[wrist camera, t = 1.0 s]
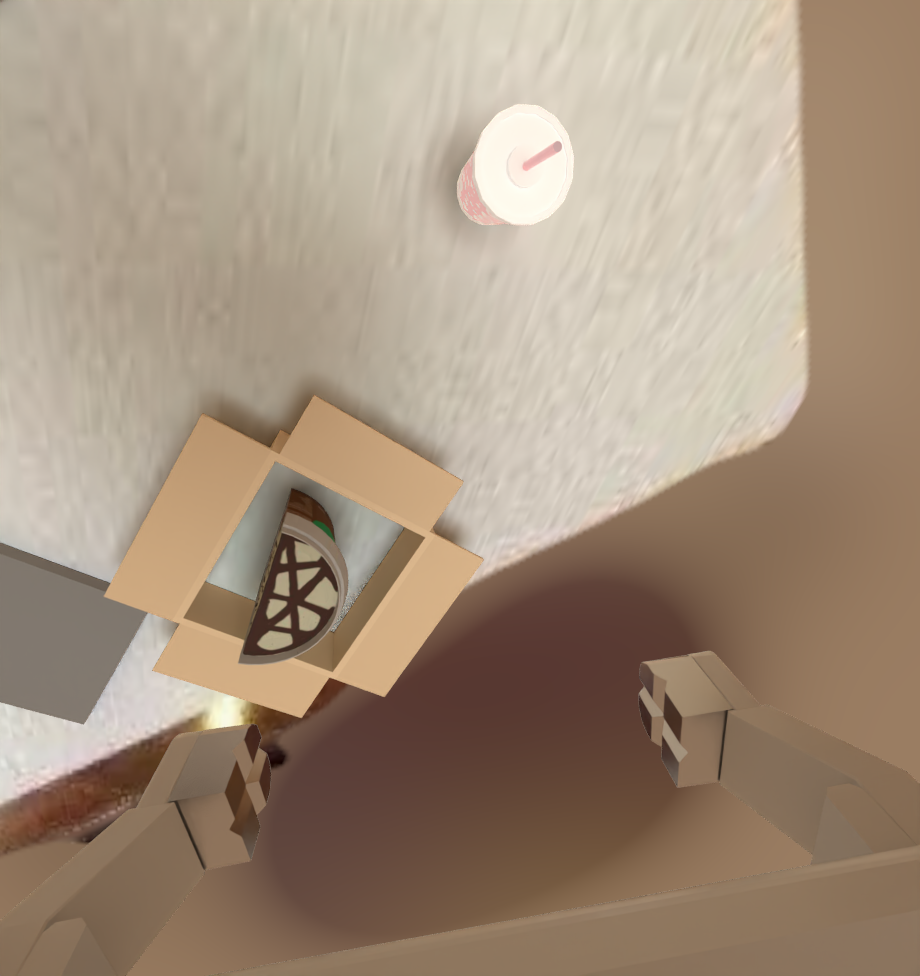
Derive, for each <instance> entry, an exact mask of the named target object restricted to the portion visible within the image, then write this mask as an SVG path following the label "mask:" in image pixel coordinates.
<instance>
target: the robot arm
mask: <svg viewBox="0 0 920 976" xmlns="http://www.w3.org/2000/svg"><path fill="white" fill-rule="evenodd" d="M639 678H640V680H641V681H642V683H643V684H644V688H643V689H642V690H641V692H640V693H639V710H640V714H641V719H642V722H643V725H644V727H645V730H646V732H647V734H648V735H649V737H650V739H651V741H653V742H655V743H656V744H658V745H659V746H661V747H662V754H661V759H662V761H663V763H664V765H665V766H666V768H667V770H668V771H669V773H670V775H671V777H672V779H673V781H674V782H675V784H676V786H677V787H678V788H679V787H685V786H692V785H700V784H707V783H714V782H720V785H722V786H723V787H724V788H726V789H727V790H728V791H729V792H731V793H732V794H734V795H735V796H736V797H737V798H738V799H740V800H741V801H743V802H744V803H745V804H746V805H748V806H749V807H751V808H752V809H753V810H754V811H756V812H757V813H758V814H759V815H761V816H762V817H763V818H765V819H766V820H767V821H769V822H770V823H771V824H773V825H774V826H775V827H776V828H778V829H779V830H781V831H782V832H783V833H784V834H786V835H787V836H788V837H790V838H791V839H792V840H794V841H795V842H796V843H798V844H799V845H800V846H801V847H803V848H804V849H805V850H807V851H808V852H809V853H811V854H812V860H811V864H810V865H808V866H802V867H797V868H792V869H787V870H781V871H776V872H770V873H764V874H759V875H753V876H748V877H742V878H737V879H732V880H726V881H721V882H715V883H710V884H705V885H699V886H693V887H688V888H683V889H678V890H672V891H667V892H661V893H656V894H651V895H645V896H639V897H634V898H629V899H624V900H618V901H612V902H607V903H602V904H597V905H591V906H585V907H580V908H575V909H570V910H564V911H559V912H553V913H548V914H542V915H538V916H532V917H526V918H521V919H515V920H510V921H505V922H499V923H493V924H488V925H482V926H477V927H471V928H466V929H461V930H455V931H449V932H444V933H438V934H433V935H427V936H422V937H417V938H412V939H405V940H400V941H394V942H389V943H384V944H378V945H373V946H367V947H362V948H356V949H351V950H346V951H340V952H335V953H330V954H324V955H318V956H313V957H307V958H302V959H297V960H291V961H285V962H280V963H275V964H269V965H263V966H258V967H253V968H247V969H242V970H237V971H231V972H225V973H220V974H214V975H209V976H920V783H919V782H918V781H917V780H916V779H914V778H913V777H912V776H911V775H910V774H909V773H908V772H907V771H905V770H903V769H901V768H898V767H897V766H894V765H892V764H890V763H888V762H886V761H884V760H882V759H880V758H878V757H876V756H874V755H872V754H870V753H867V752H865V751H863V750H861V749H859V748H857V747H855V746H853V745H851V744H849V743H847V742H845V741H842V740H840V739H838V738H836V737H834V736H832V735H830V734H828V733H826V732H824V731H822V730H820V729H818V728H816V727H813V726H811V725H809V724H807V723H805V722H803V721H801V720H799V719H797V718H795V717H793V716H791V715H788V714H786V713H784V712H782V711H780V710H778V709H776V708H774V707H772V706H770V705H762V706H761V705H760V704H759V703H758V702H757V701H756V699H755V698H754V697H753V696H752V695H751V694H750V693H749V692H748V690H747V689H746V688H745V687H744V686H743V685H742V684H741V682H740V681H739V680H738V679H737V678H736V677H735V676H734V674H733V673H732V672H731V671H730V670H729V669H728V668H727V667H726V665H725V664H724V663H723V662H722V661H721V660H720V659H719V657H718V656H717V655H716V654H715V653H713V652H711V651H706V652H700V653H694V654H688V655H686V656H685V655H684V656H678V657H671V658H666V659H659V660H654V661H647V662H642V663H641V666H640V670H639ZM261 738H262V737H261V734H260V732H259V729H258V727H257V725H255V724H247V725H239V726H232V727H224V728H217V729H209V730H204V731H199V732H191V733H183V734H179V735H178V736H176V737H175V738H174V739H173V740H172V742H171V744H170V746H169V747H168V749H167V751H166V753H165V755H164V757H163V759H162V761H161V763H160V764H159V766H158V768H157V770H156V772H155V774H154V776H153V778H152V780H151V781H150V783H149V785H148V787H147V789H146V791H145V793H144V795H143V797H142V798H141V800H140V802H139V804H138V806H137V808H134V809H129V810H127V811H126V812H125V813H124V814H123V815H121V816H120V817H119V818H118V819H117V820H116V821H115V822H113V823H112V824H111V825H110V826H109V827H108V828H106V829H105V830H104V831H103V832H102V833H101V834H99V835H98V836H97V837H96V838H95V839H94V840H92V841H91V842H90V843H89V844H88V845H87V846H86V847H84V848H83V849H82V850H81V851H80V852H79V853H78V854H76V855H75V856H74V857H73V858H72V859H70V860H69V861H68V862H67V863H66V864H65V865H64V866H62V867H61V868H60V869H59V870H58V871H57V872H55V873H54V874H53V875H52V876H51V877H50V878H49V879H47V880H46V881H45V882H44V883H43V884H41V885H40V886H39V887H38V888H37V889H36V890H35V891H33V892H32V893H31V894H30V895H29V896H28V897H26V898H25V899H24V900H23V901H22V902H21V903H19V904H18V905H17V906H16V907H15V908H14V909H13V910H11V911H10V912H9V913H8V914H7V915H6V916H4V917H3V918H2V919H1V920H0V976H126V975H127V974H128V972H129V971H130V970H131V968H132V967H133V966H134V965H135V963H136V962H137V961H138V959H139V958H140V957H141V956H142V954H143V953H144V952H145V950H146V949H147V947H148V946H149V945H150V944H151V943H152V941H153V940H154V939H155V937H156V936H157V935H158V934H159V932H160V931H161V930H162V928H163V927H164V926H165V924H166V923H167V922H168V921H169V919H170V918H171V917H172V915H173V914H174V913H175V911H176V910H177V909H178V908H179V906H180V905H181V904H182V902H183V901H184V900H185V898H186V897H187V896H188V895H189V893H190V892H191V891H192V889H193V888H194V887H195V885H196V884H197V883H198V882H199V880H200V879H201V878H202V876H203V875H204V874H205V871H204V870H209V869H214V868H219V867H224V866H229V865H234V864H238V863H243V862H248V861H251V859H252V855H253V851H254V848H255V844H256V841H257V837H258V833H259V830H260V824H259V820H258V818H257V814H258V813H259V812H260V811H261V810H262V809H263V808H264V806H265V805H266V804H267V800H268V796H269V793H270V783H271V769H270V762H269V759H268V756H267V753H265V752H264V751H262V750H261V749H259V748H258V747H259V744H260V741H261Z"/></svg>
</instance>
